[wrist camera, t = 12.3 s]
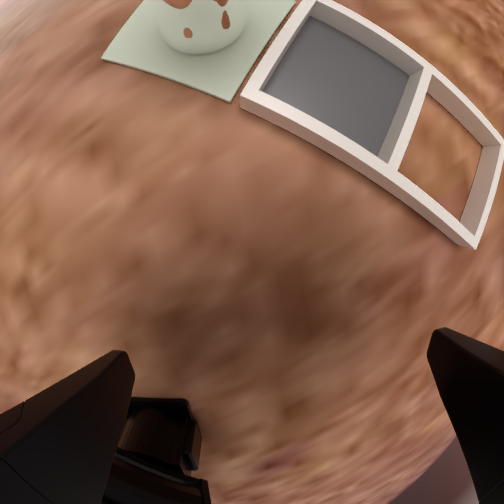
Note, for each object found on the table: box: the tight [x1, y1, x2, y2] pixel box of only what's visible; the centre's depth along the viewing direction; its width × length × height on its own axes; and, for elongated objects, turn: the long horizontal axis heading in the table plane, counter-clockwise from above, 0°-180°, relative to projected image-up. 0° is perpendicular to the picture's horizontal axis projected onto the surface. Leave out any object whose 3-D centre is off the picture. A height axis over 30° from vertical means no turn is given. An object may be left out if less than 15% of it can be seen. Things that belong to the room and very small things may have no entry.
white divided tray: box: [101, 0, 504, 250], centre depth 16 cm, size 32×11×2 cm, turn 63°
